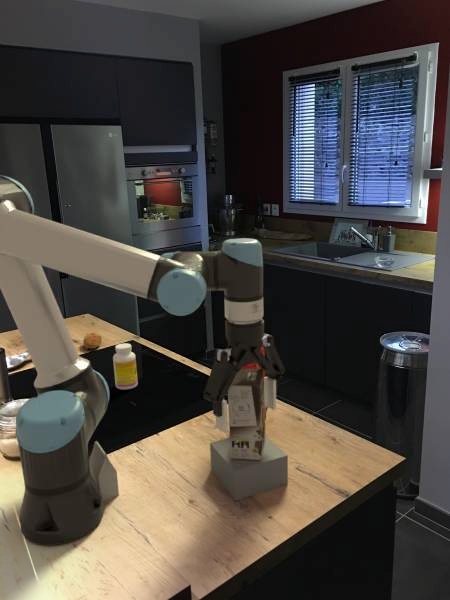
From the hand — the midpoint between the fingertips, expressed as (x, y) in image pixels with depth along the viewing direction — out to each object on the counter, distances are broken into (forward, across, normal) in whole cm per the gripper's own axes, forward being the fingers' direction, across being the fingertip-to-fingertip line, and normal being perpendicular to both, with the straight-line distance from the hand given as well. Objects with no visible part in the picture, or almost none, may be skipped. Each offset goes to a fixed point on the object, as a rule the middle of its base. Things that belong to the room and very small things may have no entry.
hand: (247, 418), depth 108 cm
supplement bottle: (+14, +6, +60) cm, 62 cm away
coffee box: (+7, 0, 0) cm, 7 cm away
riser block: (+14, 0, 0) cm, 14 cm away
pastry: (+15, +12, +100) cm, 102 cm away
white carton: (+14, -25, +17) cm, 33 cm away
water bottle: (+14, +15, +14) cm, 25 cm away
